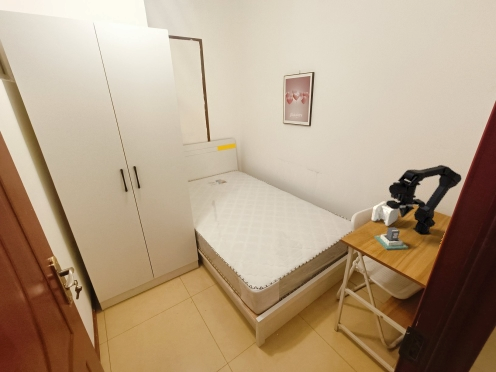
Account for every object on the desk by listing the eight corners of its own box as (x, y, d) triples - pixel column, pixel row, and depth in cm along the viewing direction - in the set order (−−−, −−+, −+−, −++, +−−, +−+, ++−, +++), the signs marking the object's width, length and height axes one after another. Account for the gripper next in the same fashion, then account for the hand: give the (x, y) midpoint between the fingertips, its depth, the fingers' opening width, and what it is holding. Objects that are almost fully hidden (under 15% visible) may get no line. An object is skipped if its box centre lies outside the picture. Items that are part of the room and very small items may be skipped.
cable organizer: (386, 228, 140) (389, 212, 135) (369, 221, 148) (372, 206, 144) (397, 220, 147) (401, 205, 143) (381, 214, 156) (384, 199, 151)
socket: (393, 236, 129) (393, 233, 129) (401, 244, 122) (402, 241, 122) (380, 237, 129) (380, 234, 129) (388, 245, 122) (389, 242, 122)
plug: (392, 238, 128) (394, 227, 125) (397, 243, 124) (400, 231, 120) (385, 239, 128) (388, 227, 125) (390, 244, 124) (393, 232, 120)
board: (394, 235, 132) (394, 234, 131) (408, 248, 121) (408, 247, 120) (374, 237, 132) (374, 235, 131) (386, 249, 121) (386, 248, 120)
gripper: (414, 186, 130) (408, 209, 136) (383, 187, 130) (378, 211, 135) (429, 193, 119) (422, 218, 125) (395, 195, 119) (389, 220, 125)
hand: (402, 216), depth 128 cm, fingers closed
